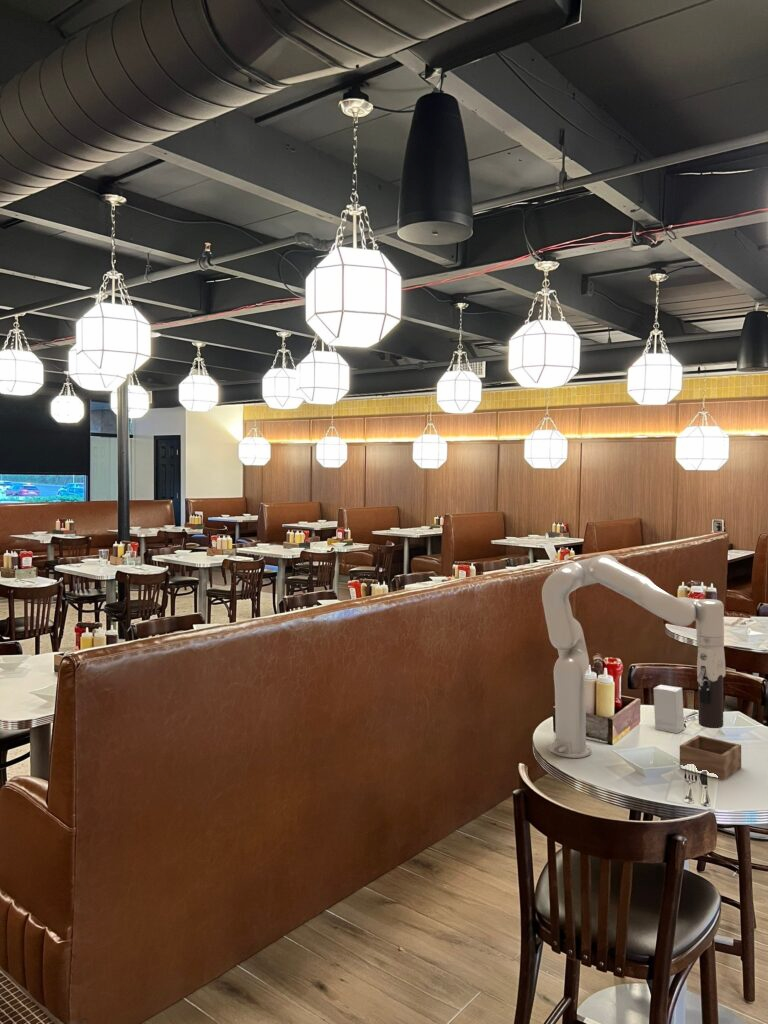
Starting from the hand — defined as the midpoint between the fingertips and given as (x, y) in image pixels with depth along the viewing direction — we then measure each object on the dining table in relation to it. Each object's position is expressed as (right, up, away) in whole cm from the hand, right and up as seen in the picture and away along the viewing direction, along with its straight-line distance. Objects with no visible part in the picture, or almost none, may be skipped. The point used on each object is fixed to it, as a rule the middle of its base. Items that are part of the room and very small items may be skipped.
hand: (710, 700), depth 224 cm
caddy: (0, -21, +1) cm, 21 cm away
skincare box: (+2, -20, +37) cm, 42 cm away
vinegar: (0, -8, 0) cm, 8 cm away
